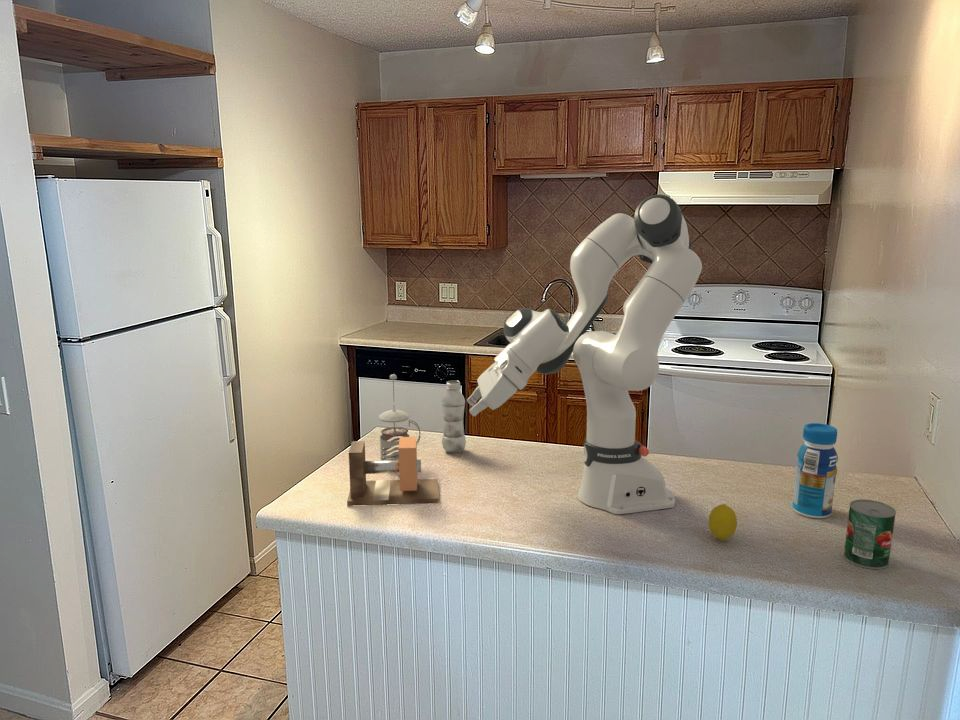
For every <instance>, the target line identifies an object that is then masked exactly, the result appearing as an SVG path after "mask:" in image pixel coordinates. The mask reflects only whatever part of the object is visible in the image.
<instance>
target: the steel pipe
mask: <svg viewBox="0 0 960 720" xmlns="http://www.w3.org/2000/svg"><path fill="white" fill-rule="evenodd" d="M416 463H417V473H422V460H421V459H417V460H416ZM364 474H366V475H372V474H373V475H375V474H399V460H388V461H381V460H365V461H364Z"/></svg>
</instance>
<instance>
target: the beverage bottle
mask: <svg viewBox="0 0 960 720" xmlns="http://www.w3.org/2000/svg"><path fill="white" fill-rule="evenodd" d="M802 431H803V432H802V440H803V442H804V443H802V445H800V448H799V449H798V452H797V457H798V459H797V460H796V462H795V477H794V486H793V497H792V504H791V507H792V509H793V511H794V512H795V513H796V514H799V515H800V516H803V517H806V518H811V519H826V518H829V517H830V516H831V515H832V512H833V502H834V495H835V494H834V493H835V488H836V487H835V485H836V480H837V479H836V478H837V475H838V467H837V463H838V462H839V456H838V453H837V451H836V449H835V447H834V446H835V444H836V443H837V439H838V429H837V428H836V427H835V426H833V425H829V424H825V423H817V422H812V423H806V424H805V425H804V426H803V429H802Z"/></svg>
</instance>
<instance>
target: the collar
mask: <svg viewBox="0 0 960 720" xmlns="http://www.w3.org/2000/svg"><path fill="white" fill-rule="evenodd" d="M399 438H400V439H399V440H398V441H399V445H398V447H399V450H398V451H399V473H398V474H399V475H398V478H399V479H398V480H399V483H400V491H415V490H417V479H418V472H417V463H416V460H418V455H417V454H418V452H417V451H418V449H417V448H418V446H417V445H418V444H417V443H418V442H417V436H409V437H402V436H399Z"/></svg>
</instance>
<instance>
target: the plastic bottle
mask: <svg viewBox="0 0 960 720" xmlns="http://www.w3.org/2000/svg"><path fill="white" fill-rule="evenodd" d="M445 388H446V391H445V392H444V394H443V395H442V396H441V397H442V398H441V408H442V414H443V415H442V416H443V430H442V431H443V434H442V439H441V444H442V449H443V450H444V451H445V452H448V453H461V452H463V451H464V450H465V449H466V445H467V440H466V436H465V429H464V427H465V426H464V418H465V417H464V413H465V408H466V407H465V406H466V399H465V397H464V394H462V392H461V390H460V389H461V382H460V381H459V380H448V381H446V386H445Z"/></svg>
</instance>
